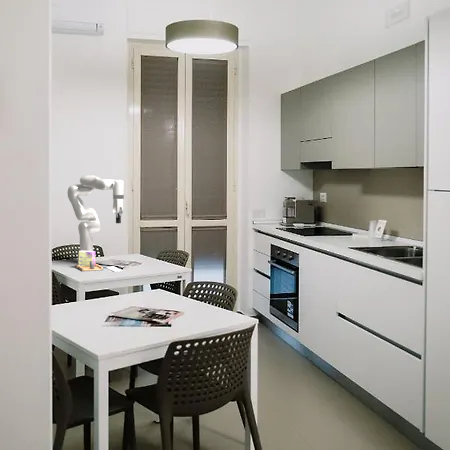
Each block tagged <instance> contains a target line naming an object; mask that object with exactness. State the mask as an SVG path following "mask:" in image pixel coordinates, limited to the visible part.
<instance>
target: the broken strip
mask: <svg viewBox="0 0 450 450" xmlns="http://www.w3.org/2000/svg"><path fill="white" fill-rule="evenodd" d="M105 268H106V269H108V270H110V271H112V272H113V273H118V272H119V273H121V272H123V269H121V268H118V267H116V266H105Z"/></svg>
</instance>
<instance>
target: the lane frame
mask: <svg viewBox="0 0 450 450" xmlns="http://www.w3.org/2000/svg"><path fill="white" fill-rule="evenodd" d="M74 266H75V268H76V269H78V270H80V271H81V272H90V271H103V270H104V266H102V265H99V264H97V263H96V262H95V266H94V261H90V266H79V264H78V263H76V264H75V265H74Z"/></svg>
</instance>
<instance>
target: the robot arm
mask: <svg viewBox="0 0 450 450" xmlns="http://www.w3.org/2000/svg"><path fill="white" fill-rule="evenodd" d="M79 183H80V184H77V183H76V184H72V185H70V186H69V187H68V189H67V198H68V200H69V202H70V203H71V206H72V209H73V211H74V215H75V216H76V219H77V220H78V221H80V223H79V224H78V226H77V228H78V235H79V251H94V240H93V237H92V234H97V233H99V232H100V231H101V227H102V225H101V222H100V219H99V217H98V214H97V212H96V209H94V208H93V207H87V206H85V203H84V201H83V199H82V198H81V196H89V195H91V194H92V192H93V191H94V190H100V191H112V201H113V202H112V213H113V214H114V215H115V223H116V224H122V214H123V213H124V198H125V196H124V195H125V193H124V191H125V189H124V187H125V186H124V185H125V182H124V180H122V179H103V178H101V177H99V176H97V175H93V174H92V175H91V174H90V175H88V174H86V175H82V176H81V177H80V178H79ZM77 264H79V260H78V261H77Z"/></svg>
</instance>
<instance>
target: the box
mask: <svg viewBox="0 0 450 450" xmlns="http://www.w3.org/2000/svg"><path fill="white" fill-rule="evenodd" d="M78 261H79V263H78V265H79V266H90V261H94V266H95V263H96V250H93V251H80V250H79V251H78Z"/></svg>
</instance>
